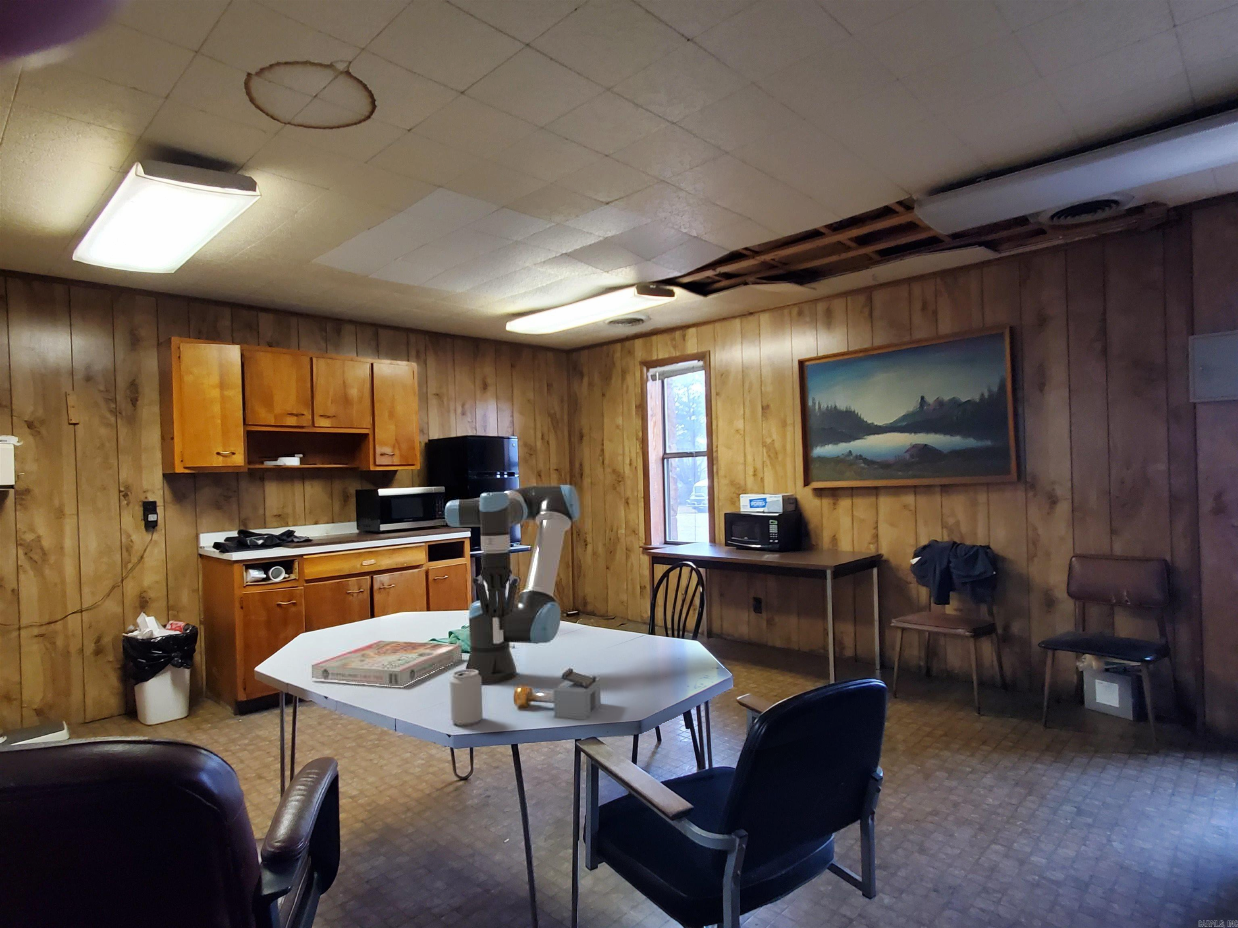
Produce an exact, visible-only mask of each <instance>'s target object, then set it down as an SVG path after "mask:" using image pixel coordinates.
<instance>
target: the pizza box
mask: <svg viewBox="0 0 1238 928" xmlns="http://www.w3.org/2000/svg"><path fill="white" fill-rule="evenodd" d="M462 645H463V644H452V643H434V642H414V641H396V640H378V641H376V642H373V643H370V644H367V645H365V646H362V647H358V648H356V649H353V650H350V651H348V652H345V653H342V654H339V655H336V656H333V657H331V658H329V659H325V660H323V661H319V662H317V663H314V664H312V665H311V679H312V678H316V679H324V680H338V681H346V682H355V683H356V682H357V683H367V684H379V685H388V686H389V685H390V686H404V685H406V684H408V683H410V682H412V681H414V680H416V679H418V678H421V677H423V676H425V675H427V674H430V673H431V672H433V671H436V670H438V669H440V668H442V667H445V666H447V665H449V664H451V663H454V662H456V661H458V662H459V660H460V659H462V660H463V648H462V647H463V646H462ZM460 661H461V660H460ZM456 663H457V662H456ZM454 664H455V663H454ZM449 666H450V665H449ZM447 667H448V666H447ZM445 668H446V667H445Z"/></svg>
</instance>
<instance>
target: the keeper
mask: <svg viewBox="0 0 1238 928" xmlns="http://www.w3.org/2000/svg"><path fill="white" fill-rule="evenodd" d="M596 678H597V676H595V675H592V676H588V675H585V674H581V673H579V672H576V671H574V669H573V668H570V667H569V668H568V669H567V670H565V671H564V672H562V675H561V678H560V679H561V680H563V681H569V682H572V683H576V684H579V685H582V686H583V687H584V688H588V686H589V685H590V684H592V683H593V682H595V681H596Z"/></svg>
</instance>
